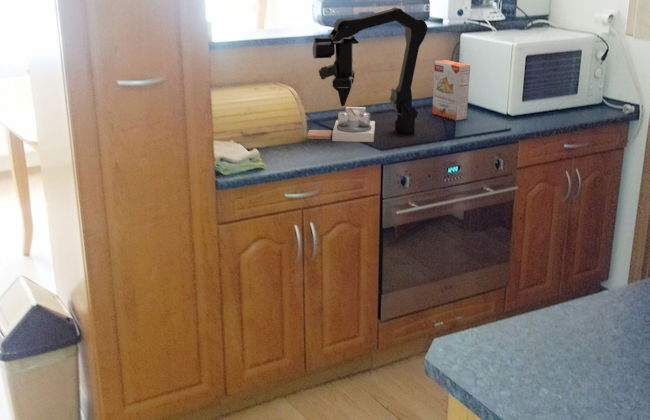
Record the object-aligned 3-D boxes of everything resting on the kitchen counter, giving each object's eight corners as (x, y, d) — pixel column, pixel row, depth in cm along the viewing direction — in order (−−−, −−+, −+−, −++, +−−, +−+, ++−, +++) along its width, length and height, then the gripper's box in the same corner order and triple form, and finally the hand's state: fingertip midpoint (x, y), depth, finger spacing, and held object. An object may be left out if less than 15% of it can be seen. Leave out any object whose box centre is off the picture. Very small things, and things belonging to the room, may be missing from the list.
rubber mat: (331, 133, 263) (331, 130, 262) (330, 139, 255) (330, 136, 255) (309, 132, 263) (309, 129, 263) (306, 138, 256) (306, 135, 256)
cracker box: (431, 114, 290) (434, 60, 283) (442, 112, 293) (446, 59, 286) (455, 121, 279) (458, 65, 272) (467, 119, 282) (471, 64, 275)
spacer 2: (370, 124, 258) (370, 112, 257) (369, 127, 255) (369, 114, 253) (358, 124, 259) (358, 112, 257) (358, 127, 255) (358, 114, 253)
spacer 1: (350, 124, 259) (350, 111, 257) (349, 127, 255) (349, 114, 254) (338, 124, 259) (338, 111, 258) (337, 127, 256) (337, 114, 254)
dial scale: (374, 129, 268) (375, 106, 265) (373, 142, 252) (373, 118, 249) (336, 128, 269) (336, 105, 266) (332, 141, 253) (332, 117, 250)
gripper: (323, 52, 259) (323, 96, 264) (317, 61, 241) (317, 108, 247) (354, 52, 258) (354, 97, 263) (351, 62, 240) (350, 109, 246)
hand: (343, 102), depth 255 cm, fingers open, 9 cm apart
